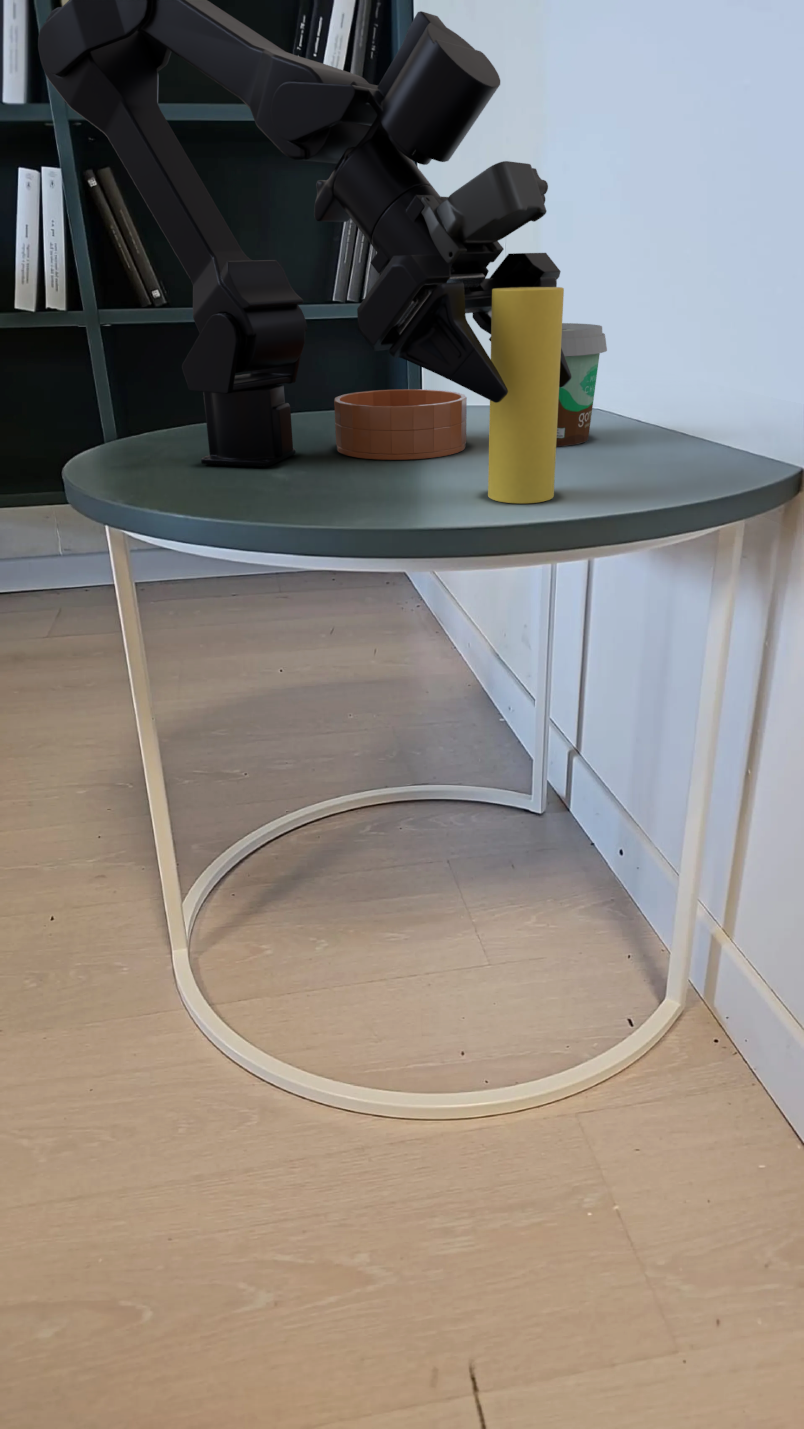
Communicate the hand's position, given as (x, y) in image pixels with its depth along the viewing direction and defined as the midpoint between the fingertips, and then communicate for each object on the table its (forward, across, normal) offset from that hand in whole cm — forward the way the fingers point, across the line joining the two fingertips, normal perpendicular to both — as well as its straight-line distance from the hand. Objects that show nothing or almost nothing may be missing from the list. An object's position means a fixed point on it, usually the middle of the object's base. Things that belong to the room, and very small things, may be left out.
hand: (536, 389), depth 67 cm
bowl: (-9, +12, +20) cm, 25 cm away
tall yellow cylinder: (+5, 0, +6) cm, 8 cm away
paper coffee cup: (-1, +24, +12) cm, 26 cm away
